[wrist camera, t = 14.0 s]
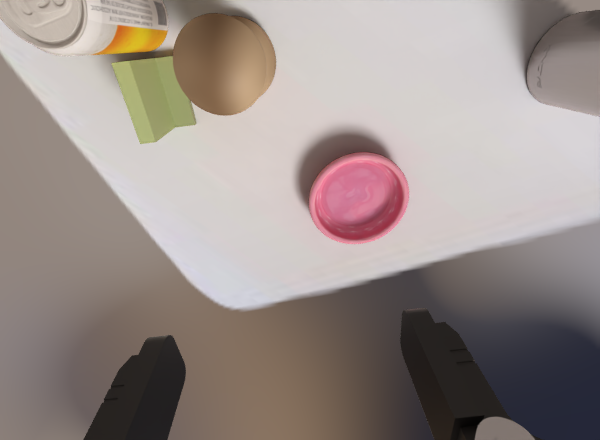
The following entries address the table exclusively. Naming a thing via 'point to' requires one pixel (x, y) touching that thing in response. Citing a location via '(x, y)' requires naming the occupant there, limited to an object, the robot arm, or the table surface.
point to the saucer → (358, 198)
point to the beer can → (87, 25)
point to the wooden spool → (223, 62)
